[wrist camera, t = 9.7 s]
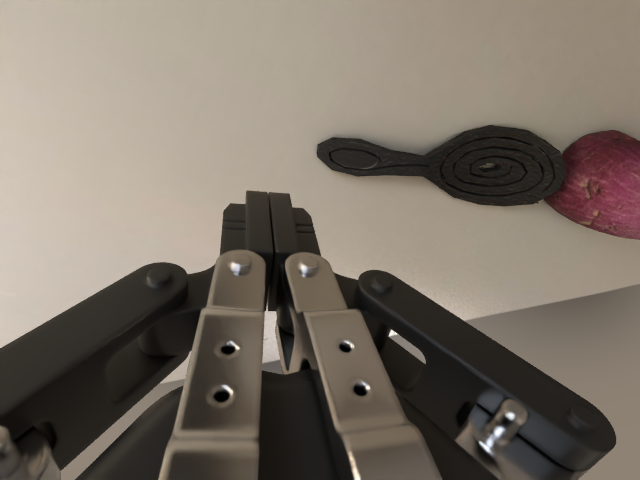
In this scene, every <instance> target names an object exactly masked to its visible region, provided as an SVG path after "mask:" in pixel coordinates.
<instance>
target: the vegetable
mask: <svg viewBox="0 0 640 480" xmlns="http://www.w3.org/2000/svg"><path fill="white" fill-rule="evenodd" d="M562 155H563V156H562V158H563V161H564V160H565V161H566V162H564V164H565V167H566V170H567V169H568V168H569V170H567V172H569V173H566V175H565V177H564V180H563V182H562V184H561V185H564V186H560V189H559V190H561V191H559V190H558V191H556V192H555V193H553V194H551V195H550V197H549V196H547V197H545V198H544V199H546V200H545V201H546V202H547V203H548V204H549V205H550V206H551V207H552V208H554V209H555V210H556V211H557V212H558V213H560V214H561V215H563V216H565V217H567V218H568V219H570V220H572V221H574V222H576V223H578V224H580V225H583V226H585V227H587V228H591V229H593V230H597V231H599V232H603V233H607V234H610V235H614V236H618V237H623V238H629V239H638V240H640V141H638V140H636V139H635V138H632V137H630V136H628V135H626V134H624V133H621V132H619V131H615V130H611V131H602V132H598V133H593V134H589V135H586V136H584V137H582V138H581V139H579V140H578V141H576V142H575V143H574V144H572V145H571V146H570V147H569V148H568V149H567V150H566V151H565V152H564V153H563V154H562ZM566 176H568V177H566ZM564 183H566V184H564ZM553 196H555V197H554V198H553Z"/></svg>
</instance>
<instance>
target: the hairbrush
mask: <svg viewBox="0 0 640 480" xmlns="http://www.w3.org/2000/svg"><path fill="white" fill-rule="evenodd" d="M511 137H513V138H511ZM515 138H516V139H515ZM517 139H519V140H517ZM520 140H521V141H520ZM523 141H524V142H523ZM526 142H527V143H526ZM529 143H530V144H529ZM531 144H532V145H535V146H537V147H539V148H540V149H541V150H542V151H543V152H544V153H545V154H546V155H547V156H545V155H544V154H543V153H542V152H540V151H539V150H537V149H536V148H535V147H533V146H532V145H531ZM518 149H521V150H523V151H525V152H527V153H529V154H531V155H532V156H533V157H534V158H536V159H537V160H538V163H537V162H536V161H535V160H534V159H533V158H532V157H530V156H529V155H528V154H526V153H524V152H522V151H520V150H518ZM328 152H330V153H331V157H332V158H330V156H329V154H328ZM317 155H318V156H317V157H318V158H319V159H320V160H321V161H323V162H324V163H325V164H326V165H327V166H328V167H329V168H330V169H331V170H334V171H338V172H342V173H346V174H350V175H354V176H380V175H396V176H423V177H424V178H426V179H428V180H430V181H431V182H433V183H434V184H436V185H437V186H438V187H439V188H441V189H442V190H444V191H445V192H447V193H448V194H449V195H451V196H452V197H454V198H457V199H461V200H465V201H469V202H472V203H476V204H480V205H493V206H514V205H527V204H534V203H538V201H540V200H542V199H543V198H545V197H547V196H549V197H550V195H551V194H553V193H555V192H556V191H558V190H559V189H560V186H564V185H561V184H562V182H563V180H564V177H565V175H566V173H569V172H567V170H569V168H568V169H567V170H566V167H565V164H564V162H566V161H565V160H564V161H563V158H562V156H563V155H561V152H560V151H559V150H557V149H556V148H555V147H553V146H552V145H551V144H549V143H548V142H547V141H546V140H544V139H542V138H540V137H538V136H537V135H535V134H533V133H532V132H530V131H527V130H521V129H516V128H507V127H500V126H493V125H489V126H485V127H481V128H477V129H473V130H469V131H465V132H463V133H461V134H459V135H458V136H456V137H454V138H453V139H451V140H449V141H448V142H446V143H444V144H443V145H441V146H439V147H438V148H436V149H434V150H432V151H431V152H429V153H427V154H425V155H418V154H412V153H406V152H400V151H394V150H390V149H387V148H384V147H381V146H378V145H376V144H373V143H370V142H367V141H364V140H361V139H351V138H330V139H328V140H326V141H324V142H322V143H320V144H318V149H317ZM376 155H377V156H378V157H379V158H378V157H377V156H376ZM510 157H511V158H510ZM547 157H548V158H547ZM512 158H514V159H516V160H518V161H520V162H521V163H522V165H523V168H522V166H521V165H520V163H518V162H517V161H516V160H514V159H512ZM486 163H493V164H497V165H496V167H495V168H486V169H481V168H483V167H480V168H479V166H482V165H484V164H486ZM550 164H551V165H550ZM539 165H540V166H539ZM470 171H471V172H470ZM440 172H441V175H440ZM453 172H454V173H455V175H456V176H457V177H459V178H457V177H454V175H453ZM473 173H474V174H473ZM476 174H478V175H476ZM441 176H443V178H444V179H445V180H446V182H447V183H446V182H445V181H444V180H443V179H442V178H441ZM566 177H568V176H566ZM448 183H449V184H448ZM564 184H566V183H564ZM559 191H561V190H559ZM554 197H555V196H553V198H554ZM544 200H546V199H544Z"/></svg>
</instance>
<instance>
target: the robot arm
mask: <svg viewBox="0 0 640 480" xmlns="http://www.w3.org/2000/svg"><path fill="white" fill-rule="evenodd" d="M267 303H268V311H276V313H277V321H276V327H275V333H276V339H277V344H278V350H279V355H280V361H281V367H282V372H283V374H276V373H272V372H267V371H262V357H263V336H264V311H266V306H267ZM391 329H392V330H393V331H395V332H396V333H398V334H399V335H400V336H402V337H403V338H405V339H406V340H407V341H408V342H410V343H411V344H413V345H414V346H415V347H417V348H418V349H419V350H420V351H421V352H422V353H423V355H424V356H425V359H426V364H424V363H423V362H421V361H420V360H419V359H417V358H416V357H415V356H413V355H412V354H410V353H409V352H408V351H406V350H405V349H404V348H403V347H401V346H400V345H399V344H397V343H396V342H395V341H393V340H392V339H391V338H389V337H388V336H389V333H390V330H391ZM190 351H192V352H191V356H190V361H189V365H188V369H187V374H186V378H185V383H184V386H181V387H179V388H177V389H175V390H173V391H171V392H169V393H168V394H166V395H165V396H163V397H161V398H160V399H159V400H158V401H157V402H155V403H154V404H152V405H151V406H150V407H149V408H148V409H147V410H146V411H145V412H143V414H142V415H140V416H139V418H137V419H136V420H135V421H134V422H133V423H132V424H131V425H130V426H129V427H128V428H127V430H125V431H124V432H123V433H122V434H121V435H120V436H119V437H118V438H117V439H116V440H115V441H114V442H113V443H112V444H111V445H110V446H109V447H108V448H107V449H106V450H105V451H104V452H103V453H102V454H101V455H100V456H99V457H98V458H97V459H96V460H95V461H94V462H93V463H92V464H91V465H90V466H89V467H88V468H87V469H86V470H85V471H84V472H83V473H82V474H81V475H79V476H78V477H77V478H76V479H75V480H578V479H579V478H580V477H581V476H582V475H584V473H586V472H587V471H588V470H589V469H590V468H591V467H592V466H594V465H595V464H596V463H597V462H598V461H599V460H600V459H602V458H603V457H604V456H605V455H606V454H607V453H608V452H609V451H611V450H612V449H613V448H614V446H615V444H616V435H615V432H614V429H613V427H612V425H611V424H610V422H609V421H608V419H607V418H606V417H605V416H604V415H603V413H602V412H600V410H598V409H597V408H596V407H595V406H593V405H592V404H591V403H590V402H588V401H587V400H585V399H584V398H582V397H580V396H579V395H577V394H576V393H574V392H573V391H571V390H570V389H568V388H567V387H565V386H563V385H562V384H560V383H559V382H557V381H556V380H554V379H553V378H551V377H550V376H548V375H546V374H545V373H543V372H542V371H540V370H539V369H537V368H536V367H534V366H533V365H531V364H530V363H528V362H526V361H525V360H523V359H522V358H520V357H519V356H517V355H516V354H514V353H513V352H511V351H509V350H508V349H506V348H505V347H503V346H502V345H500V344H499V343H497V342H496V341H494V340H492V339H491V338H489V337H488V336H486V335H485V334H483V333H482V332H480V331H478V330H477V329H476V328H474V327H472V326H471V325H469V324H468V323H466V322H464V321H463V320H462V319H460V318H459V317H457V316H455V315H454V314H452V313H451V312H449V311H448V310H446V309H445V308H443V307H442V306H440V305H438V304H437V303H435V302H434V301H432V300H431V299H429V298H428V297H426V296H425V295H423V294H421V293H420V292H418V291H417V290H415V289H414V288H412V287H411V286H409V285H408V284H406V283H404V282H403V281H401V280H400V279H398V278H397V277H395V276H394V275H392V274H390V273H387V272H384V271H380V270H369V271H366V272H364V273H362V274H361V275H360V276H359V279H358V280H355V279H352V278H348V277H344V276H341V275H338V274H336V273H334V272H333V270H332V268H331V265H330V264H329V262H328V261H327V260H326V259H324V258H323V257H321V254H320V250H319V246H318V242H317V238H316V234H315V230H314V227H313V223H312V219H311V216H310V215H309V214H308V213H307V212H306V211H305V210H304V209H303V208H293V207H292V204H291V199H290V194H287V193H274V192H269V193H267V192H260V191H246V203H245V204H232V203H230V205H229V206H228V207H227V208H226V209H225V210H224V212H223V224H222V236H221V248H220V256H219V257H218V259H217V261H216V264H215V265H214V266H212V267H211V268H209V269H207V270H205V271H202V272H198V273H193V274H188V275H187V273H186V271H185V270H184V269H183V268H182V267H180V266H178V265H176V264H172V263H165V262H160V263H152V264H148V265H146V266H143V267H141V268H139V269H138V270H136V271H134V272H132V273H131V274H129V275H127V276H125V277H124V278H122V279H120V280H118V281H117V282H115V283H113V284H112V285H110V286H108V287H106V288H105V289H103V290H101V291H99V292H98V293H96V294H94V295H92V296H91V297H89V298H87V299H85V300H84V301H82V302H80V303H79V304H77V305H75V306H73V307H72V308H70V309H68V310H66V311H65V312H63V313H61V314H59V315H58V316H56V317H54V318H52V319H51V320H49V321H47V322H46V323H44V324H42V325H40V326H39V327H37V328H35V329H33V330H32V331H30V332H28V333H26V334H25V335H23V336H21V337H19V338H18V339H16V340H14V341H13V342H11V343H9V344H7V345H6V346H4V347H2V348H0V480H61V473H60V471H61V470H62V469H63V468H64V467H66V466H67V465H68V464H69V463H70V462H71V461H72V460H73V459H75V458H76V457H77V456H78V455H79V454H80V453H81V452H82V451H84V450H85V449H86V448H87V447H88V446H89V445H90V444H91V443H93V442H94V441H95V440H96V439H97V438H98V437H99V436H100V435H101V434H102V433H104V432H105V431H106V430H107V429H108V428H109V427H110V426H112V425H113V424H114V423H115V422H116V421H117V420H118V419H120V418H121V417H122V416H123V415H124V414H125V413H126V412H127V411H128V410H130V409H131V408H132V407H133V406H134V405H135V404H136V403H137V402H138V401H140V400H141V399H142V398H143V397H144V396H145V395H146V394H148V393H149V392H150V391H151V390H152V389H153V388H154V387H155V386H157V385H158V384H159V383H160V382H161V381H162V380H163V379H164V378H166V377H167V376H168V375H169V374H170V373H171V372H172V371H173V370H175V369H176V368H177V367H178V366H179V365H180V364H181V363H182V362H183V361H184V360H185V359H186V358H187V357H188V355H189V352H190Z"/></svg>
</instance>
